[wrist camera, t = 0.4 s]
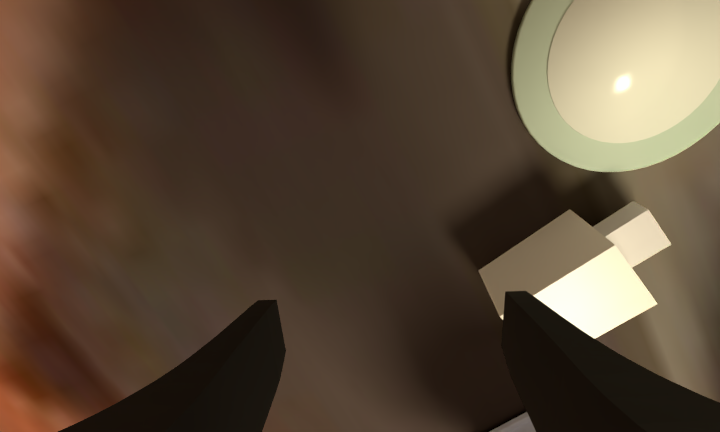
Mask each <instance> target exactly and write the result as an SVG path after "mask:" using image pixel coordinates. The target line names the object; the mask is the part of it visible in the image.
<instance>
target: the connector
mask: <svg viewBox="0 0 720 432" xmlns="http://www.w3.org/2000/svg"><path fill="white" fill-rule="evenodd" d="M669 245H671V243H670V241H669V240H668V238H667V237H666V235H665V234H664V232H663V231H662V229H661V228H660V226H659V225H658V223H657V222H656V220H655V219H654V217H653V216H652V214H651V213H650V211H649V210H648V209H647V208H645V207H643V206H641V205H639V204H638V203H636V202H634V201H632V202H631V203H629V204H627V205H626V206H624V207H623V208H621V209H620V210H618V211H617V212H615V213H613V214H612V215H610V216H609V217H607V218H606V219H604V220H603V221H601V222H599V223H598V224H596V225H595V226H593V227H592V226H591V225H589V224H588V223H587V222H586V221H584V220H583V219H582V218H580V217H579V216H578V215H577V214H575V213H574V212H573V211H572V210H570V209H569V210H568V211H566V212H565V213H563V214H562V215H560V216H559V217H557V218H556V219H554V220H553V221H551V222H550V223H548V224H547V225H545V226H544V227H542V228H541V229H539V230H538V231H536V232H535V233H533V234H532V235H531V236H529V237H528V238H526V239H525V240H523V241H522V242H520V243H519V244H517V245H516V246H514V247H513V248H511V249H510V250H508V251H507V252H505V253H504V254H502V255H501V256H499V257H498V258H496V259H495V260H493V261H492V262H490V263H489V264H487V265H486V266H484V267H483V268H481V269H480V270H478V271H479V273H480V276H481V278H482V280H483V282H484V284H485V286H486V288H487V291H488V293H489V295H490V297H491V299H492V301H493V303H494V306H495V308H496V310H497V312H498V314H499V316H500V318H501V319H502V320H503V315H504V301H505V291H527V292H528V293H530V294H531V295H533V296H534V297H536V298H537V299H538V300H540V301H541V302H542V303H544V304H545V305H547V306H548V307H549V308H551V309H552V310H553V311H555V312H556V313H558V314H559V315H560V316H562V317H563V318H565V319H566V320H567V321H569V322H570V323H572V324H573V325H574V326H576V327H577V328H579V329H580V330H582V331H583V332H585V333H586V334H588V335H589V336H591V337H592V338H594V339H595V338H597V337H598V336H600V335H602V334H604V333H606V332H607V331H609V330H611V329H613V328H615V327H617V326H618V325H620V324H622V323H624V322H626V321H627V320H629V319H631V318H633V317H635V316H636V315H638V314H640V313H642V312H644V311H645V310H647V309H649V308H651V307H653V306H655V305H656V304H657V302H656V301H655V300H654V298H653V297H652V295H651V294H650V293H649V291H648V290H647V289H646V287H645V286H644V284H643V283H642V282H641V280H640V279H639V277H638V276H637V275H636V273H635V272H634V270H633V269H632V267H634V266H636V265H637V264H639V263H641V262H642V261H644V260H646V259H647V258H649V257H651V256H653V255H654V254H656V253H658V252H659V251H661V250H663V249H664V248H666V247H668V246H669Z"/></svg>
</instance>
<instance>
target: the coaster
mask: <svg viewBox="0 0 720 432" xmlns="http://www.w3.org/2000/svg"><path fill="white" fill-rule="evenodd" d="M511 85H512V93H513V98H514V102H515V106H516V109H517V112H518V114H519V116H520V119H521V121H522V123H523V124H524V126H525V128H526V129H527V131H528V133H529V134H530V135H531V136H532V138H533V139H534V140H535V141H536V142H537V143H538V144H539V145H540V146H541V147H542V148H543V149H545V150H546V151H547V152H548V153H550V154H552V155H553V156H555V157H556V158H558V159H560V160H562V161H564V162H566V163H568V164H570V165H573V166H575V167H579V168H582V169H586V170H591V171H599V172H621V171H630V170H635V169H639V168H644V167H647V166H650V165H653V164H656V163H659V162H662V161H664V160H666V159H668V158H670V157H672V156H675V155H677V154H678V153H680V152H682V151H683V150H685V149H687V148H688V147H690V146H692V145H693V144H694V143H696V142H697V141H699V140H700V139H701V138H703V137H704V136H705V135H706V134H708V133H709V132H710V131H711V130H712V129H713V128H714V127H715V126H717V125H718V124H719V123H720V0H531V1H530V3H529V5H528V7H527V9H526V11H525V13H524V15H523V18H522V21H521V23H520V26H519V28H518V31H517V35H516V39H515V43H514V47H513V53H512V61H511Z"/></svg>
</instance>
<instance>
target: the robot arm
mask: <svg viewBox="0 0 720 432" xmlns="http://www.w3.org/2000/svg"><path fill="white" fill-rule="evenodd" d="M501 346H502V349H503V353H504V356H505V359H506V363H507V366H508V369H509V372H510V375H511V378H512V380H513V382H514V384H515V387H516V389H517V391H518V393H519V396H520V398H521V400H522V402H523V404H524V407H525V409H526V411H527V412H525V413H524V414H522V415H520V416H518V417H516V418H514V419H512V420H510V421H508V422H506V423H505V424H503V425H501V426H499V427H497V428H495V429H493V430H491V431H489V432H720V403H719V402H716V401H714V400H712V399H709V398H707V397H704V396H702V395H700V394H698V393H695V392H693V391H691V390H689V389H687V388H684V387H682V386H680V385H678V384H676V383H674V382H671V381H669V380H667V379H665V378H663V377H661V376H659V375H657V374H655V373H653V372H651V371H649V370H647V369H646V368H644V367H642V366H640V365H638V364H636V363H634V362H633V361H631V360H629V359H627V358H625V357H623V356H622V355H620V354H618V353H617V352H615V351H613V350H612V349H610V348H608V347H607V346H605V345H604V344H602V343H600V342H599V341H597V340H596V339H594V338H592V337H591V336H589V335H588V334H586V333H585V332H583V331H582V330H580V329H579V328H577V327H576V326H574V325H573V324H572V323H570V322H569V321H567V320H566V319H565V318H563V317H562V316H560V315H559V314H558V313H556V312H555V311H553V310H552V309H551V308H549V307H548V306H547V305H545V304H544V303H542V302H541V301H540V300H538V299H537V298H536V297H534V296H533V295H531V294H530V293H528V292H527V291H505V301H504V315H503V329H502V343H501ZM285 352H286V350H285V344H284V339H283V333H282V328H281V322H280V317H279V311H278V306H277V300H258V301H257V302H256V303H254V304H253V305H252V306H251V307H249V308H248V309H247V310H246V311H245V312H244V313H243V314H241V315H240V316H239V317H238V318H237V319H236V320H235V321H233V322H232V323H231V324H230V325H229V326H228V327H226V328H225V329H224V330H223V331H222V332H221V333H219V334H218V335H217V336H216V337H215V338H214V339H212V340H211V341H210V342H208V343H207V344H206V345H205V346H203V347H202V348H201V349H200V350H198V351H197V352H196V353H194V354H193V355H192V356H191V357H189V358H188V359H187V360H185V361H184V362H183V363H181V364H180V365H178V366H177V367H175V368H174V369H173V370H171V371H169V372H168V373H166V374H165V375H163V376H162V377H160V378H159V379H157V380H156V381H154V382H153V383H151V384H149V385H148V386H146V387H144V388H142V389H141V390H139V391H137V392H135V393H134V394H132V395H130V396H129V397H127V398H125V399H123V400H122V401H120V402H118V403H116V404H114V405H112V406H111V407H109V408H107V409H105V410H103V411H101V412H99V413H97V414H95V415H93V416H91V417H89V418H87V419H85V420H82V421H80V422H78V423H76V424H74V425H72V426H70V427H67V428H65V429H63V430H61V431H58V432H262V430H263V427H264V424H265V421H266V419H267V416H268V413H269V410H270V407H271V404H272V401H273V399H274V396H275V393H276V390H277V387H278V384H279V381H280V376H281V372H282V367H283V362H284V357H285Z"/></svg>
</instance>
